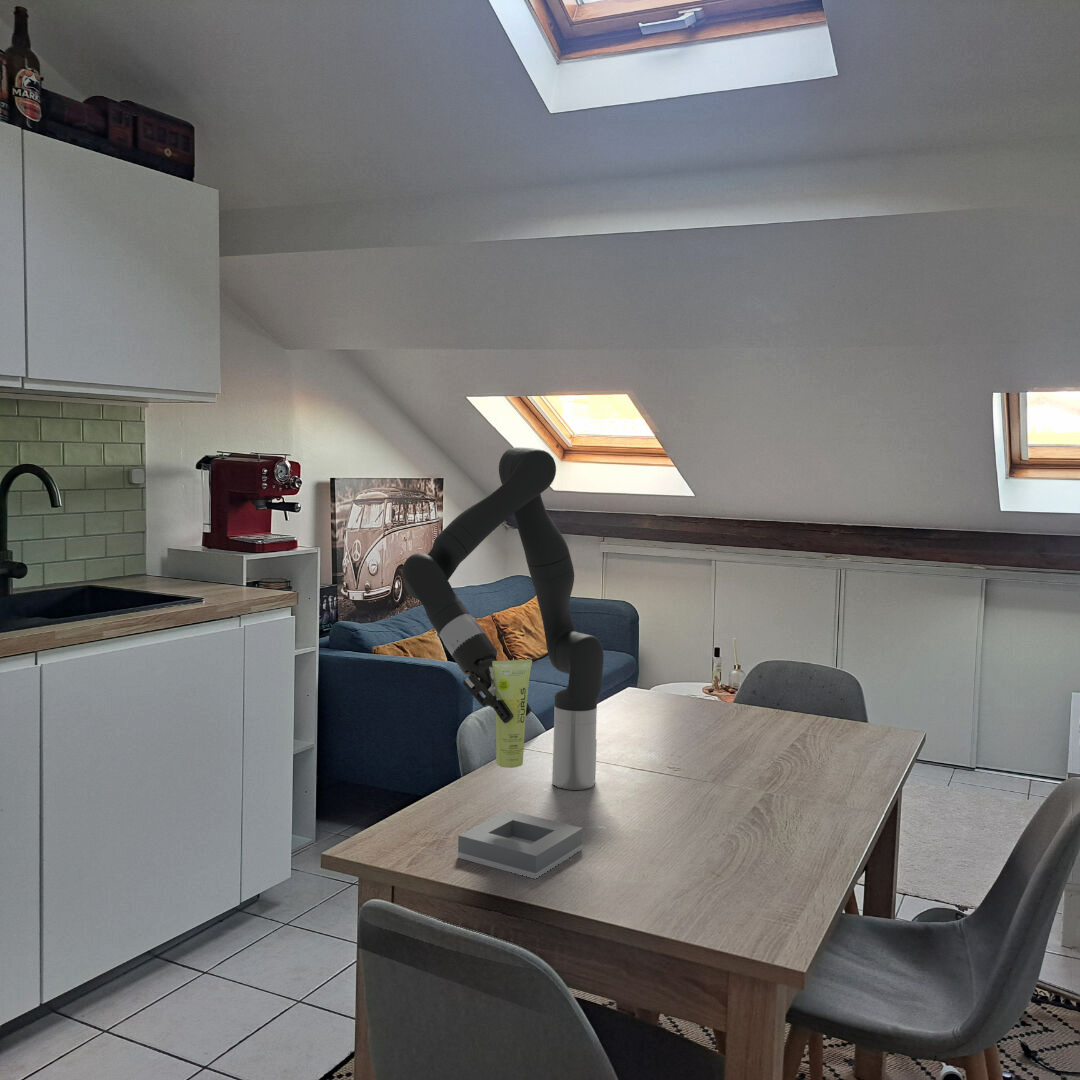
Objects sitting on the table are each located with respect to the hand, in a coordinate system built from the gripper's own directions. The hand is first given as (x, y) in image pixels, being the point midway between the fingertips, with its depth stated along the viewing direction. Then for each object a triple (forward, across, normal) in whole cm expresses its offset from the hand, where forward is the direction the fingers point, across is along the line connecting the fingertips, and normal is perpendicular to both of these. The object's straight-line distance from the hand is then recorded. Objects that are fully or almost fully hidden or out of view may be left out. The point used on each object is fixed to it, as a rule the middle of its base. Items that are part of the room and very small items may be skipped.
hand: (518, 717), depth 182 cm
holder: (+19, -4, +13) cm, 24 cm away
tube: (+5, 0, +8) cm, 10 cm away
